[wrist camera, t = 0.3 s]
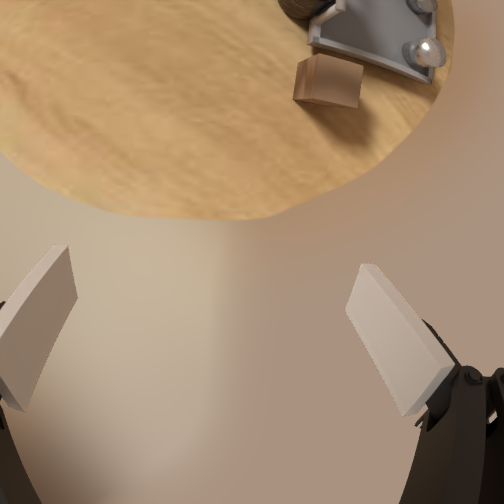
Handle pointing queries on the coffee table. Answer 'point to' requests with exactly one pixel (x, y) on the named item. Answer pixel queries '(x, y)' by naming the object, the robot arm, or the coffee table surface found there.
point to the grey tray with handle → (374, 33)
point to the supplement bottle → (305, 8)
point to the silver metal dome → (422, 6)
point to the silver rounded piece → (424, 53)
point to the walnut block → (328, 82)
